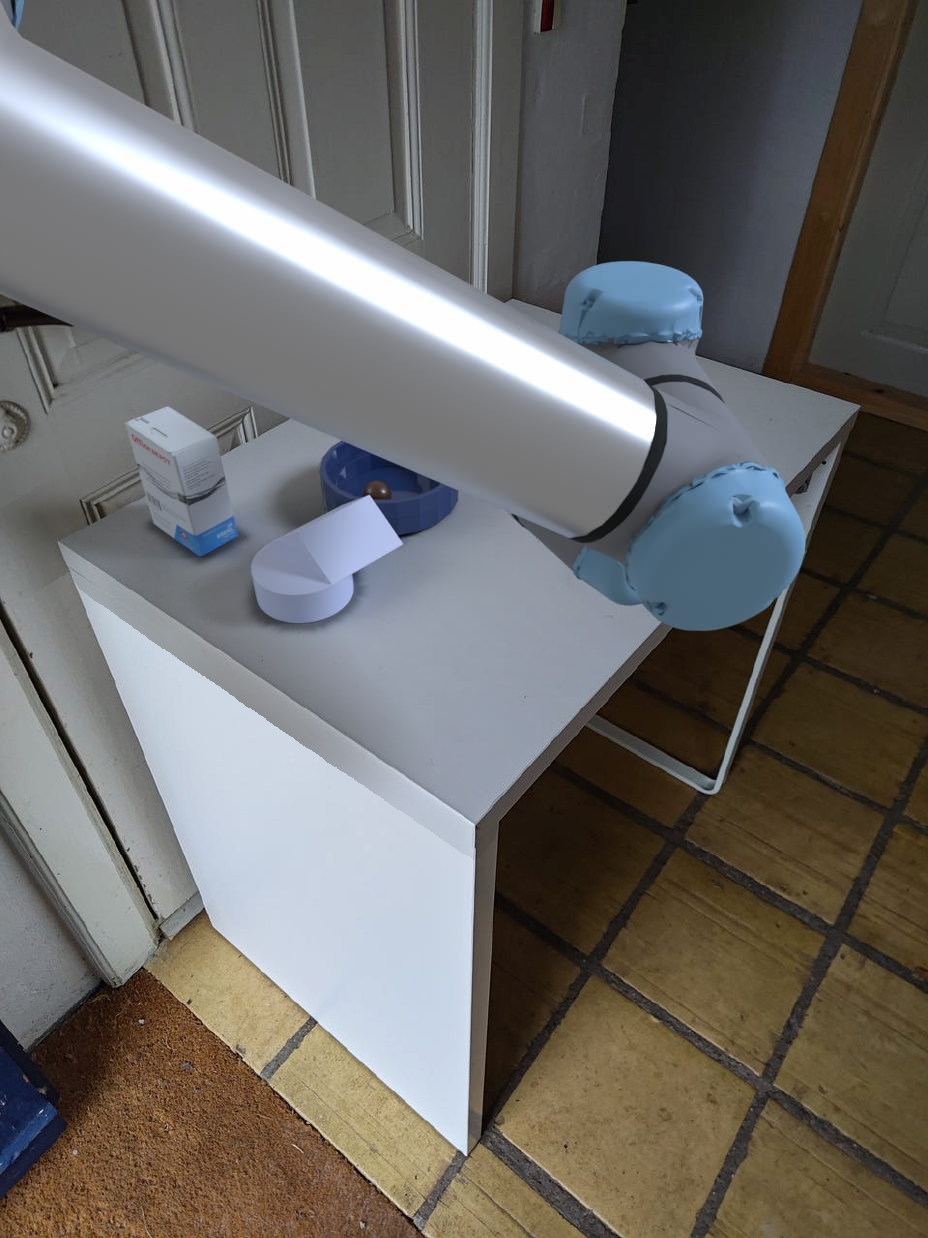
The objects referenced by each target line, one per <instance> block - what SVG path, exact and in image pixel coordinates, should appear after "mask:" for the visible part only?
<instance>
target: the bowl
mask: <svg viewBox="0 0 928 1238" xmlns="http://www.w3.org/2000/svg"><path fill="white" fill-rule="evenodd" d="M318 471H319V478H320V485H321V492H322V495H321V496H322V501H323V504H324V508H325V511H326V513H328V512H330V511H332V510H334V509H335V508H337V507H339V506H341V505H344V504H346V503H349V502H352V501H354V500H357V499H360V498H362V497H363V490H364V488H365V486H366V485H367V484H368V483H370V482H372V481H382V482H384V483H385V484H387V485H388V486H389V488H390V490H391V493H392V498H391V500H373V501H374V502H375V504H376V505H377V506H378V508H379V509H380V511H381V512H382V514H383V515H384V517H385V518H386V520H387V521H388V523H389V524H390V525H391V527H392V528H393V530H394V531H395V533H396V534H397V536H401V535H405V534H412V533H417V532H420V531H424V530H426V529H428V528H431V527H433V526H435V525H437V524H439V523H440V522H441V521H443V520H444V519H445V518H447V517H448V516H449V515H451V514H452V513H453V511H454V508H455V507H456V505H457V503H458V502H459V491H458V490H456V489H454V488H451V487H449V486H447V485H444V484H442V483H440V482H437V481H435V480H433V479H430V478H428V477H426V476H423V475H421V474H419V473H416V472H414V471H412V470H409V469H407V468H405V467H402V466H400V465H398V464H395V463H393V462H391V461H388V460H386V459H384V458H381V457H379V456H377V455H374V454H372V453H370V452H367V451H365V450H363V449H360V448H358V447H356V446H353V445H351V444H349V443H346V442H344V441H342V440H339V442H337V443H335V444H333V445H332V446H330V448H329V449H328V450H327V452H325V454H323V456H322V457H321V460H320V465H319V469H318Z"/></svg>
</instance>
